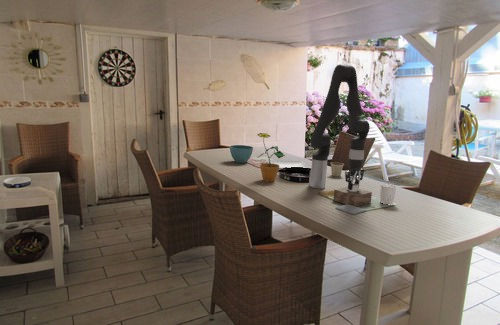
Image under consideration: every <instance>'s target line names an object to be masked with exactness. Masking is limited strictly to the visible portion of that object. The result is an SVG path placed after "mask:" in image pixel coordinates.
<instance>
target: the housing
mask: <svg viewBox="0 0 500 325" xmlns="http://www.w3.org/2000/svg"><path fill="white" fill-rule="evenodd" d="M372 193H373V192H372V191H368V190H365V189H363V188H358V192H356V193H353V192H349V191H348V186H345V187H339V188H335V189H333V198H332V199H333V202H338V203H341V202H343V203H342V204H344V203H346V204H349V205H353V206H357V207H359V206H358V205H361V206H363V205H362V204H365V203H369V202H371V203H372V196H373V194H372ZM346 204H345V205H346ZM369 204H370V203H369ZM365 205H366V204H365Z"/></svg>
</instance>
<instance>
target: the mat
mask: <svg viewBox="0 0 500 325" xmlns="http://www.w3.org/2000/svg"><path fill="white" fill-rule="evenodd" d="M335 210H338V211H341V212H344V213H347V214H350V215H354V216H355V215H357V214H360V213H361V214H362V213H366V212H367V210H366V209H365V208H361V207H360V206H357V207H356V206H353V205H349V204H343V205H338V206H335ZM365 211H366V212H365Z"/></svg>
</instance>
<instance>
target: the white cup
mask: <svg viewBox="0 0 500 325" xmlns="http://www.w3.org/2000/svg"><path fill="white" fill-rule="evenodd" d="M396 190H397V185H395V184H393V183H381V184H380V192H379V203H380V202H381V203H383V204H382V205H384V204H393V205H394V202H395V196H396ZM381 203H380V204H381Z"/></svg>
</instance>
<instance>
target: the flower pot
mask: <svg viewBox="0 0 500 325" xmlns="http://www.w3.org/2000/svg"><path fill="white" fill-rule="evenodd" d="M344 165H345V163H343V162H337V161H335V162H333V161H332V162H330V172H331V176H333V177H341V176H342V171H343V167H344Z"/></svg>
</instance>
